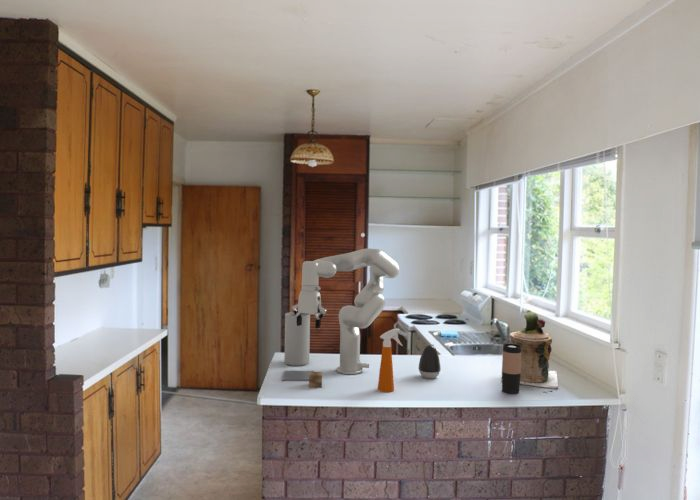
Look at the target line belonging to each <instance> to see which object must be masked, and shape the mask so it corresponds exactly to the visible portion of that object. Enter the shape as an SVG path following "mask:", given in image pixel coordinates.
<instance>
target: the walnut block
mask: <svg viewBox="0 0 700 500" xmlns="http://www.w3.org/2000/svg"><path fill="white" fill-rule="evenodd" d="M308 388H309V389H310V388H311V389H315V388H316V389H319V388H320V389H322V388H323V371H314V372H309V381H308Z"/></svg>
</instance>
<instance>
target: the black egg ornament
mask: <svg viewBox="0 0 700 500" xmlns="http://www.w3.org/2000/svg"><path fill="white" fill-rule="evenodd" d="M418 371H419V374H420V375H421V377H423V378H425V379H430V380H431V379H436V378H437V377H438V376H439V374H440V372H441V360H440V357H439V352H438V351H437V347H436V346H435V344H428V345H426V346H425V347H424V348H423V349H422V352H421V354H420V358H419V362H418Z"/></svg>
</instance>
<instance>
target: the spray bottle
mask: <svg viewBox="0 0 700 500" xmlns="http://www.w3.org/2000/svg"><path fill="white" fill-rule="evenodd" d="M399 332H401V330H400V328H392V329H391V330H390V329H389V330H388V331H386V332H384V333H382V334H381V335H380V336H379V338H380V339H382V340H383V341H382V349H381V356H380V367H379V376H378V382H377V390H378V392H381V393H393V392H394V390H395V382H394V381H395V380H394V370H393V369H394V368H393V353H392V341H391V339H393V340H394V341H396V343H397V344H398V345H400V346H402V347H403V344H402V342H401V341H400V339H399V336H398V335H399V334H398V333H399Z"/></svg>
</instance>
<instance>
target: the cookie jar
mask: <svg viewBox="0 0 700 500" xmlns="http://www.w3.org/2000/svg"><path fill="white" fill-rule="evenodd" d="M524 319H525V322H526V323H525V328H521V330H519V331H514V332H513V331H512V332H511V333H510V334H509V338H510V343H509V344H517V345H520V346H521V374H520V386H521V385H523V386H530V387H537V388H546V389H550V390H551V389H557V388H558V387H559V386H560V385H559V377H558V375H557V374H558V372H557V370H549V368H550V363H549V361H550V356H551V353H552V346H551V345H552V342H553V338H552V337H551V336H550V334H549V333H547V332H545V331H544V330H543V328H545V325H546V321H545V320H544V319H543V318H539V316H538V314H537V313H536V312H532V311H531V310H530V309H527V311H526V312H525V315H524ZM501 379H502V376H501Z"/></svg>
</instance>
